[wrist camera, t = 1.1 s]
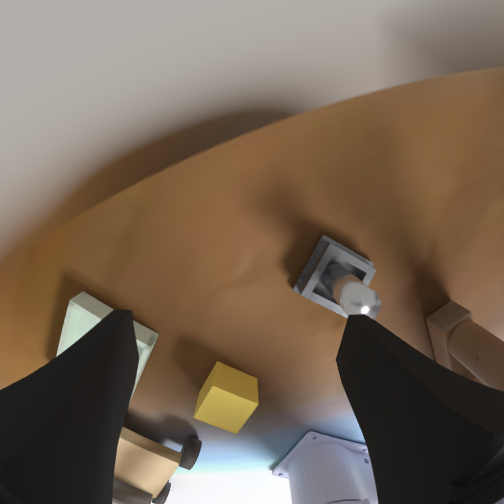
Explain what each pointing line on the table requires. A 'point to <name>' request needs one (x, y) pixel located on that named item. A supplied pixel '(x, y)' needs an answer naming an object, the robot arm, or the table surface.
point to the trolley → (148, 468)
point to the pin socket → (316, 264)
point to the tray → (88, 315)
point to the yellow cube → (227, 398)
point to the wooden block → (466, 346)
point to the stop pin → (350, 291)
